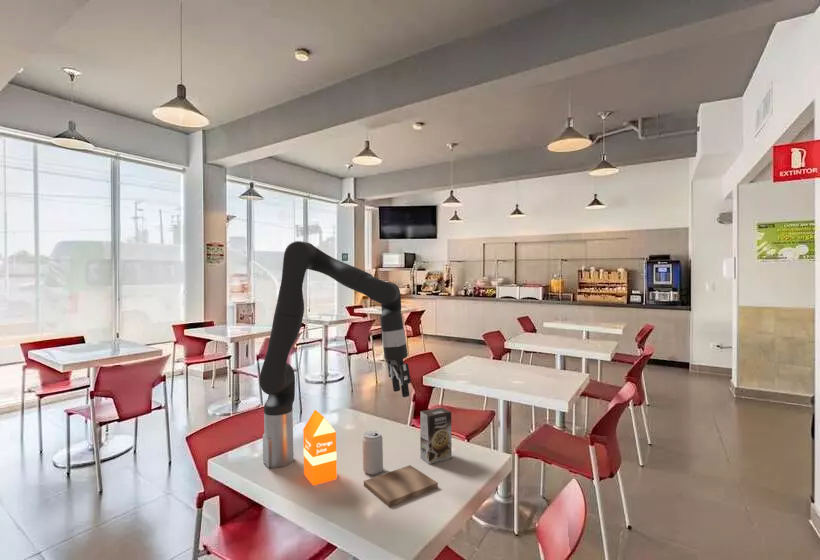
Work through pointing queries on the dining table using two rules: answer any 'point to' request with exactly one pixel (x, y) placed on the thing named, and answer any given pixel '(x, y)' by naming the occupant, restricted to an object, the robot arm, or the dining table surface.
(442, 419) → the coffee box
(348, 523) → the dining table surface
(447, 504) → the dining table surface
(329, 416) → the dining table surface
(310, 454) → the orange juice
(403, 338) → the robot arm
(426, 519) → the dining table surface
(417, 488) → the walnut board
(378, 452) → the beverage can
